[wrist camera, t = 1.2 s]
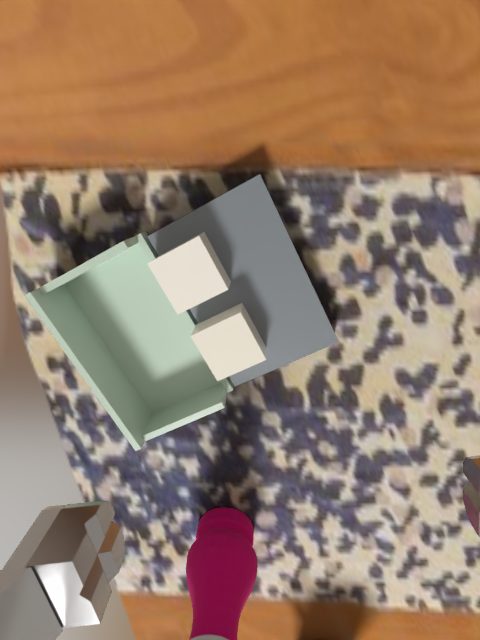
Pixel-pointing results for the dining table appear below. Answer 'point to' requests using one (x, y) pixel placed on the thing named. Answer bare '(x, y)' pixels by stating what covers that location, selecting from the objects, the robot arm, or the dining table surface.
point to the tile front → (190, 273)
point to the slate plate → (256, 274)
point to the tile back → (229, 342)
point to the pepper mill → (220, 573)
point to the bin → (130, 342)
